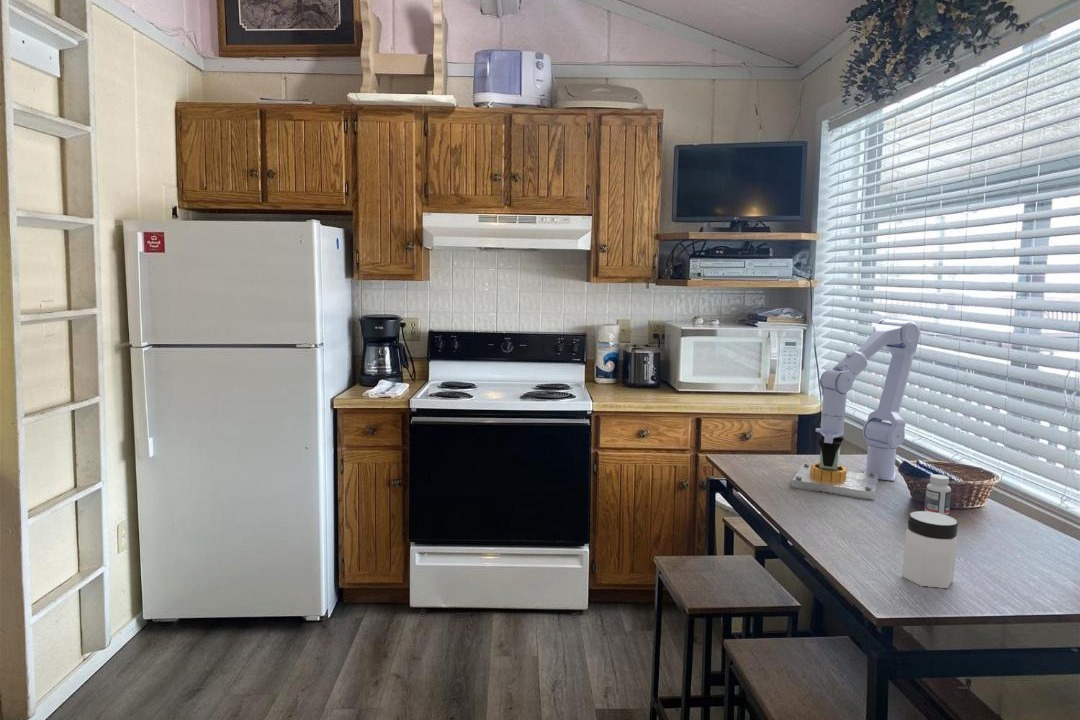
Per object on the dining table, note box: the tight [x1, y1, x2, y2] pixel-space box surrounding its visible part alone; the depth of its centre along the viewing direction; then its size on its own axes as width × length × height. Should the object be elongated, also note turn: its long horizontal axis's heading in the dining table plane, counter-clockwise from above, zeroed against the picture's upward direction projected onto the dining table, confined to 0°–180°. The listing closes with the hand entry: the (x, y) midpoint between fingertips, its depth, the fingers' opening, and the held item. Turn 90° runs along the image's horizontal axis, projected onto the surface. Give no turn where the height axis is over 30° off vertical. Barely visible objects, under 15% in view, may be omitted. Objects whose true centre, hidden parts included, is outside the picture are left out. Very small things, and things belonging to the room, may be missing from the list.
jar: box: [901, 510, 959, 589], centre depth 140 cm, size 9×8×12 cm
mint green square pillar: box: [819, 446, 841, 471], centre depth 201 cm, size 4×4×8 cm
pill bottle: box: [924, 473, 952, 516], centre depth 180 cm, size 5×5×9 cm
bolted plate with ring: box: [791, 462, 879, 501], centre depth 201 cm, size 18×20×4 cm
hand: (829, 464), depth 201 cm, fingers closed on mint green square pillar, 4 cm apart
